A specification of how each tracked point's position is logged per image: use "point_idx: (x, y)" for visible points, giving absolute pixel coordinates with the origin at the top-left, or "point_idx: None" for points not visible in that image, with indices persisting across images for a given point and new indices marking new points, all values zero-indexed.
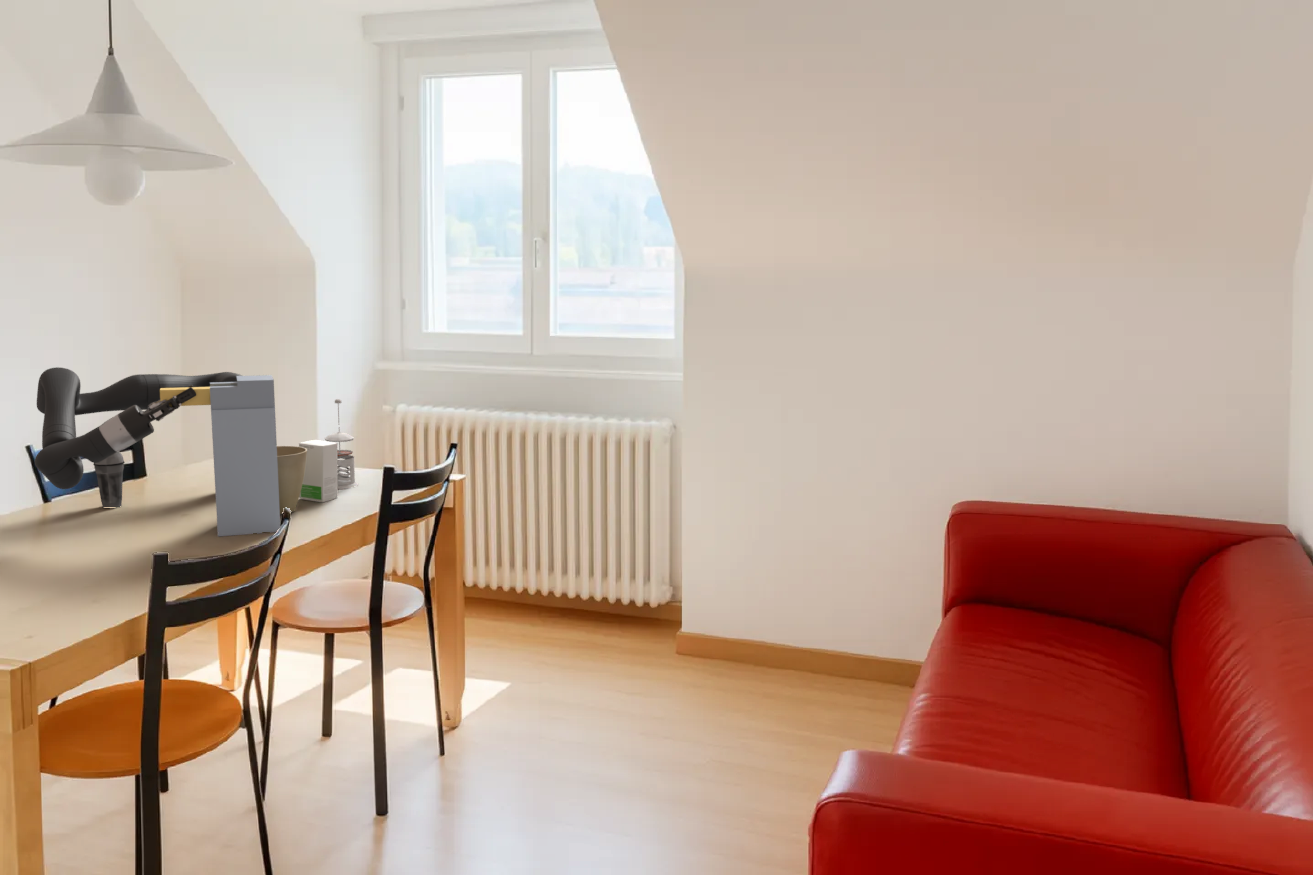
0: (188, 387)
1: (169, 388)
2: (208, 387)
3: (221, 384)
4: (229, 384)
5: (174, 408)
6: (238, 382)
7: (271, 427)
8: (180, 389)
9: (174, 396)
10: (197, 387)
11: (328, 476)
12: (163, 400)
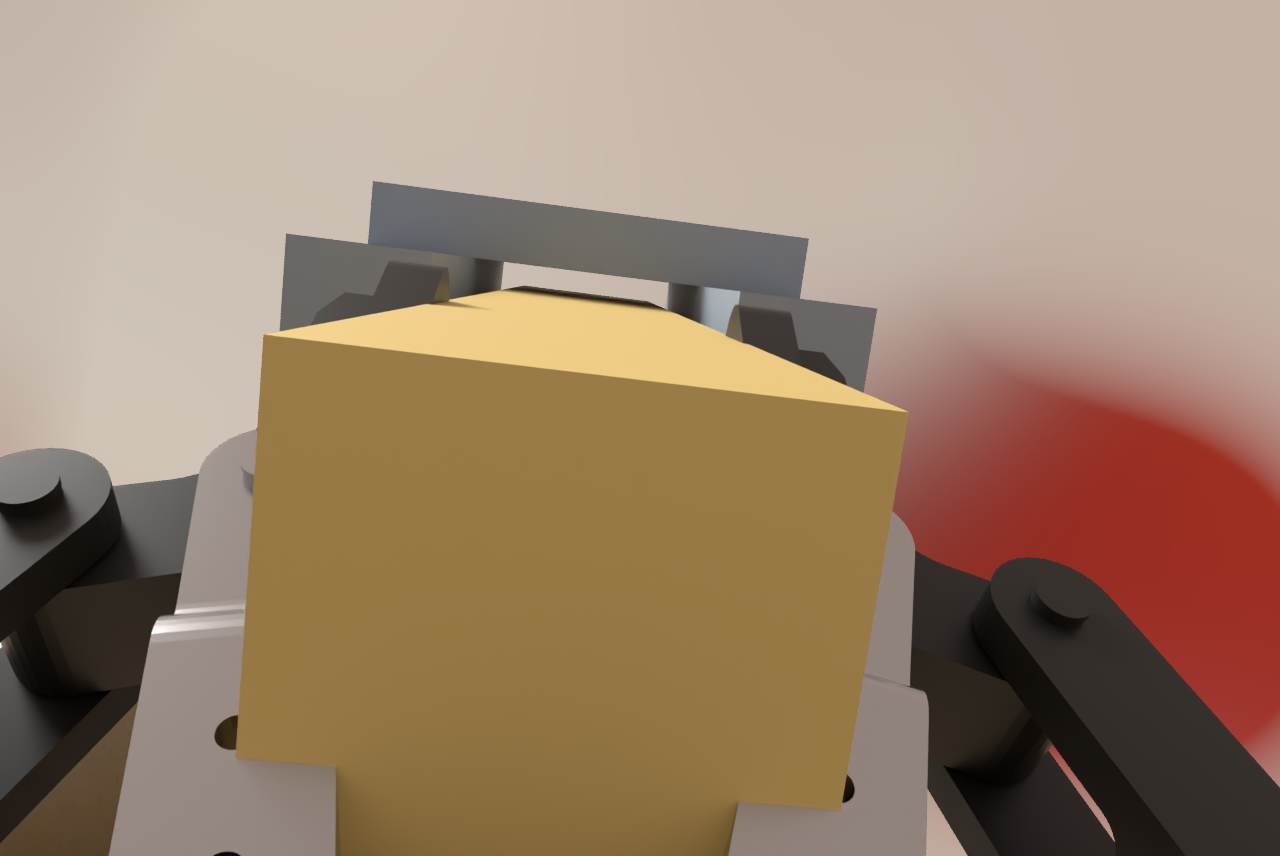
0: (457, 305)
1: (504, 336)
2: (550, 305)
3: (454, 267)
4: (463, 270)
5: (1057, 788)
6: (804, 254)
7: None
8: (750, 350)
9: (895, 525)
10: (507, 305)
11: None
12: (921, 727)
